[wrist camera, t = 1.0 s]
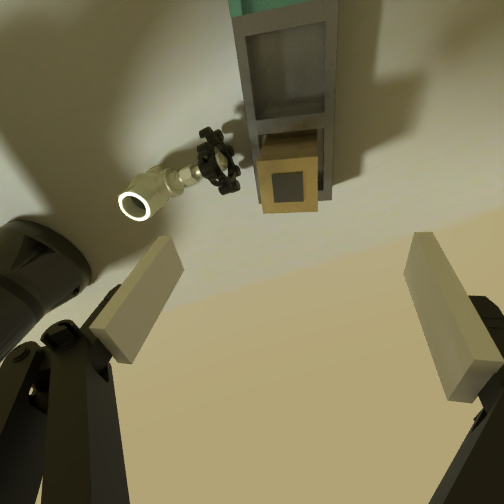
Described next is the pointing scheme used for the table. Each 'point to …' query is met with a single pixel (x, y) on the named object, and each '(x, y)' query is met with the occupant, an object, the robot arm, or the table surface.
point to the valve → (181, 178)
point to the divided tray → (288, 73)
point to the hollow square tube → (289, 172)
